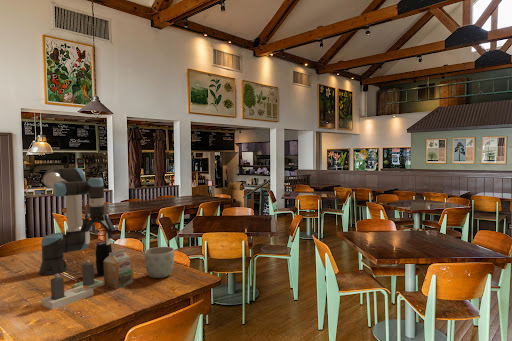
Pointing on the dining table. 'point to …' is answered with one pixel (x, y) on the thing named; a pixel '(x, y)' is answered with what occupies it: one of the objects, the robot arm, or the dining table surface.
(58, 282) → the twin plug
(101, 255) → the portable speaker
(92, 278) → the plug
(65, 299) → the beige flat rimmed piece
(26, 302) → the dining table surface
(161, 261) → the planter
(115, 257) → the milk carton
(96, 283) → the tray
